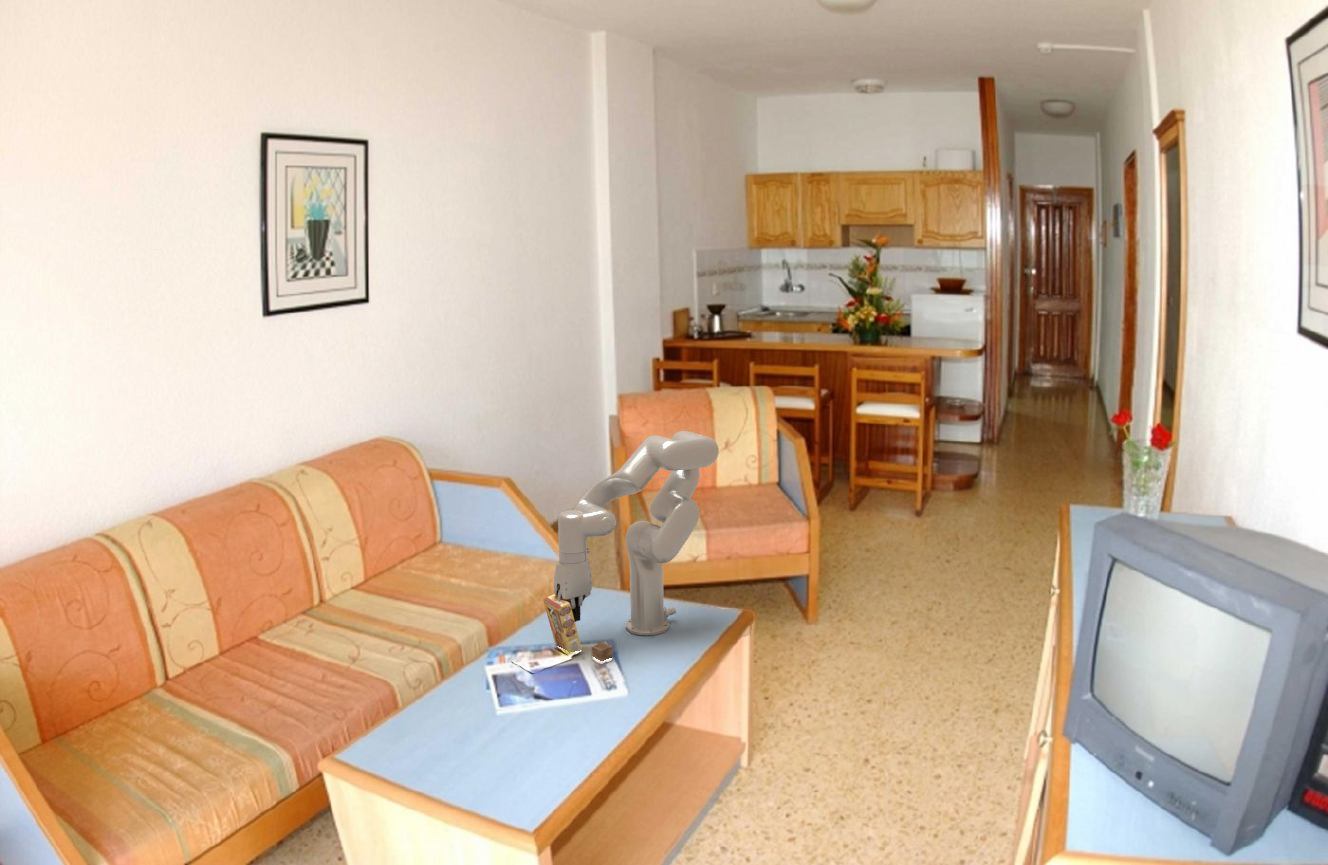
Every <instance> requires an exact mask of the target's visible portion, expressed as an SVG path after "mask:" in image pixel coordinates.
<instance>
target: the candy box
mask: <svg viewBox="0 0 1328 865" xmlns="http://www.w3.org/2000/svg"><path fill="white" fill-rule="evenodd" d="M557 597H558V596H555V595H554V593H553V594H551V595H548V596H547V597H544V598H543V599H542V600H543V604H544V607H545V611H546V615H547V619H548V622H549V626H550V630H551V633H552V636H553V640H554V644H555V647H556V646H559V647H561V648H563V649H565V650H567V651H568V652H569V653H570V652H575V651H580V650H582V651H583V648H582V647H583V646H582V643H581V640H580V637H579V632H578V628H577V623H576V622H575V620H574V616H573V613H572V609H571V605H570V603H569V602H568V601H566V600H564V599H563V600H561V601H558V600H557Z"/></svg>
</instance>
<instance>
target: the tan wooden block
mask: <svg viewBox="0 0 1328 865" xmlns="http://www.w3.org/2000/svg"><path fill="white" fill-rule="evenodd" d="M613 649H614V646H612V645H610V644H608V643H606V642H604V641H603V642H601V643H597V644H594V645H592V646H591V657H592V656H593V657H595V658H596V659H598V660H600V661H604V660H606V659H609V658H612V657H613V658H614V650H613Z"/></svg>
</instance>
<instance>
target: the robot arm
mask: <svg viewBox="0 0 1328 865" xmlns="http://www.w3.org/2000/svg"><path fill="white" fill-rule="evenodd" d="M719 454H720V452H719V445H718V444H717V441H715V439H713V438H711V437H709V436H706V435H704V434H699V433H696V432H693V431H690V430H689V431H687V430H680V431H677V432H676V433H674V434H673V436H672V437H671V438H669V437H666V436H665V437H664V436H661V435H653V434H652V435H650V436H648V437H646V438H645V440H643V441H642V442H641V444H640V445H639V446H638V447H637V448H636V450H635V451H633V453H632V454H631V455H630V457H629V458H628V459H627V460H626V461H625V462H624V464H623V465H622V466H621V467H620V468H619V469H618V470H617V471H615V472H614V473H612V474H611V475H608V476H606V477H605V478H603V479H602V480H601V481H599V482H597V483H596V484H594V485H593V486H591V487H590V489H588V491H586V493H585V494H584V495H583V496H582V497H581V498H580V500H579V501H578V503H576V505H575V507H574V509H568V510H564V511H562V512H559V515H558V517H557V527H558V528H557V529H558V532H557V534H558V560H559V561H557V562H556V564H555V569H554V580H553V594H554V595H555V596H558V597H557V600H558V601H561V600H563V599H564V600H566V601H568V602H569V603H570V605H571V609H572V613H573V616H574V620H575V623H576V622H579V621H581V607H582V606H583V602H584V600H585V599H586V598H588V597H589V596H591V594H592V592H591V591H592V589H593V580H592V578H593V577H592V569H591V565H590V564H591V563H590V560H589V558H588V553H590V548H589V547H588V546H587V544H588V543H587V541H588V540H587V538H590V537H593V538H594V537H595V538H596V537H606V536H609V535H610V534H611V533H612V532H614V530H615V529H616V527H617V518H616V516H615V515H614V513H612V512H611V511H610V510H608V509H606V508H605V507H606V506H607V505H608V504H610V503H611V502H612V501H614V500H616V499H618V498H622V497H625V496H630V495H634V494H637V493H640V492H641V491H643V490H644V489H645V487H646V486H647V485H648V483H649V482H650V481H651V480H652V479H653V477H654V476H655V475H656V474H657V472H659V470H661V469H663V470H667V471H670V473H669V475H668V477H667V479H666V480H665V482H664V483H663V485H662V486H661V488H660V489H659V491H658V492H657V494H656V495H655V496H654V498H653V500H652V502H651V503H650V506H649V513H650V516H652V519H654V520H656V521H657V522H659V523H661V524H662V525H661V526H660V525H658V524H656V523H654V522H650V521H647V520H637V521H635V522H633V523H632V524H630V526H629V527H628V528H627V531H626V534H625V547H626V551H627V556H628V562H629V592H630V593H629V594H630V619H628V620H627V621H626V622H625V629H626V631H628V632H629V633H631V634H634V635H638V636H657V635H660V634H663V633H665V632H666V631H668V629H669V628H670V620H668V619H667V618H668V617H669V616H673V615H674V614H677V610H676V608H675V607H674V606H673V607H670V608H667V607H665V606H664V604H665V603H664V601H665V600H664V567H663V564H667V563H670V562H671V561H673V560H674V559H675V558H676V556H678V554H679V553H680V551H681V550H682V548H683V547H684V545H685V544H686V543H687V541H688V540H689V538H690V536H691V535H692V533H693V532H694V530H695V528H696V527H697V525H698V521H699V519H700V508H699V505H698V504H697V502H696V501H695V500H694V499H692V498H691V497H692V496H693V494H694V492H695V491H696V489H697V487H698V484H699V481H700V469H701V468H705V467H708V466H711V465H713V464H714V463H715V462H716V461H717V459H718V457H719Z"/></svg>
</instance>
